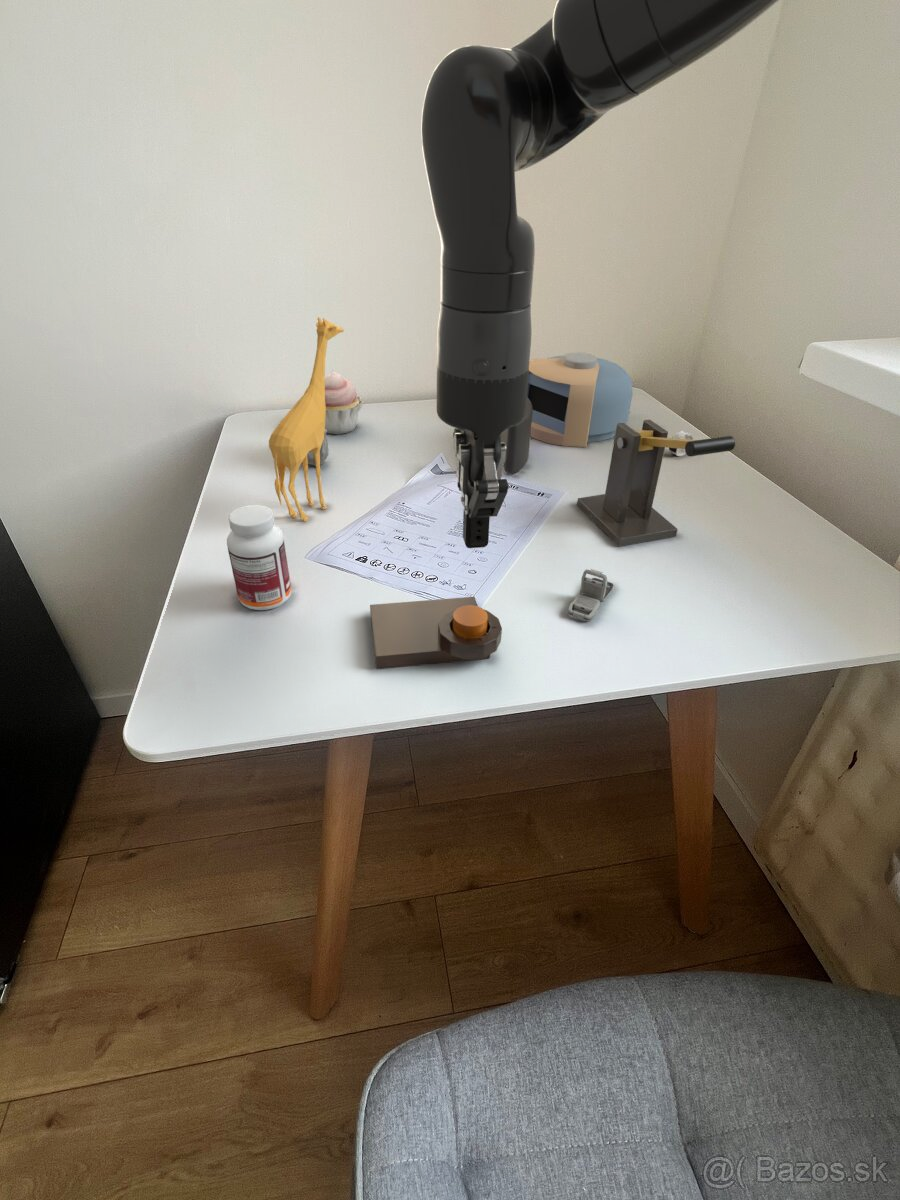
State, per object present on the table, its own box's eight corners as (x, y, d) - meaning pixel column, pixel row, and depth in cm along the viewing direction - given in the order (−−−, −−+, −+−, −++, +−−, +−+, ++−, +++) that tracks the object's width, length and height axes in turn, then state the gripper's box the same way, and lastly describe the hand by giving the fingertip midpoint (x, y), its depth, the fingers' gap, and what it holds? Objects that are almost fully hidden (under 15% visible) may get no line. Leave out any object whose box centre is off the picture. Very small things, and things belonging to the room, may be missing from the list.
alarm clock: (495, 421, 127) (499, 354, 120) (566, 397, 138) (574, 334, 131) (577, 456, 116) (587, 383, 108) (647, 426, 127) (660, 358, 119)
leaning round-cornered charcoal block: (533, 478, 109) (539, 420, 103) (504, 477, 108) (508, 419, 103) (522, 436, 122) (526, 382, 116) (495, 436, 122) (499, 382, 116)
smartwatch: (683, 450, 118) (688, 428, 116) (692, 455, 117) (697, 432, 114) (666, 454, 117) (671, 431, 115) (675, 459, 115) (680, 436, 113)
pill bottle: (261, 576, 85) (248, 496, 79) (302, 590, 83) (292, 509, 77) (226, 602, 81) (209, 520, 74) (269, 618, 79) (254, 534, 72)
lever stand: (676, 536, 95) (699, 441, 87) (618, 546, 93) (636, 450, 85) (630, 496, 104) (647, 407, 96) (576, 505, 102) (589, 414, 94)
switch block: (484, 607, 81) (486, 582, 79) (504, 668, 73) (507, 642, 71) (370, 616, 79) (369, 591, 77) (377, 680, 71) (376, 654, 69)
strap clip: (589, 624, 79) (595, 594, 77) (564, 616, 80) (569, 585, 78) (614, 587, 85) (620, 558, 83) (591, 580, 86) (596, 550, 84)
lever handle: (735, 454, 79) (735, 432, 78) (693, 460, 77) (694, 438, 77) (651, 446, 94) (651, 428, 93) (616, 451, 92) (615, 433, 92)
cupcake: (351, 414, 128) (348, 359, 122) (373, 432, 122) (370, 375, 116) (303, 423, 125) (297, 367, 119) (322, 442, 118) (317, 383, 112)
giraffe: (339, 480, 107) (325, 308, 92) (363, 486, 105) (353, 312, 90) (269, 526, 95) (240, 338, 80) (294, 535, 93) (270, 344, 79)
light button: (483, 616, 75) (484, 603, 74) (490, 638, 72) (491, 624, 71) (450, 619, 74) (450, 606, 73) (455, 641, 71) (456, 627, 70)
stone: (350, 466, 111) (345, 405, 105) (314, 479, 107) (308, 416, 101) (315, 447, 116) (310, 388, 110) (281, 459, 112) (272, 398, 106)
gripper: (550, 386, 52) (530, 579, 62) (509, 336, 62) (498, 508, 72) (450, 390, 51) (447, 586, 61) (426, 339, 61) (427, 513, 71)
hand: (475, 543), depth 67 cm, fingers closed
